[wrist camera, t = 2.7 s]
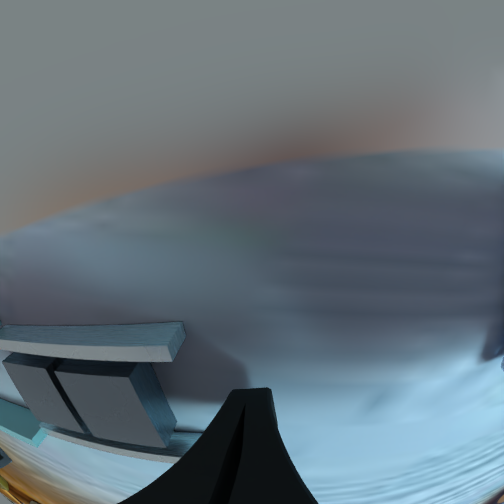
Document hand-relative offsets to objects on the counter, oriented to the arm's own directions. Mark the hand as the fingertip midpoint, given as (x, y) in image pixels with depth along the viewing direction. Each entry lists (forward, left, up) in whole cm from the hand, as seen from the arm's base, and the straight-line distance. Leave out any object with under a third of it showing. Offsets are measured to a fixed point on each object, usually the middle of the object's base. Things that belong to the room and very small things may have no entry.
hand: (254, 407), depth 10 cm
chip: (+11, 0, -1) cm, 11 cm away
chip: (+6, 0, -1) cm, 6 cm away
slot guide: (+8, 0, -1) cm, 8 cm away
